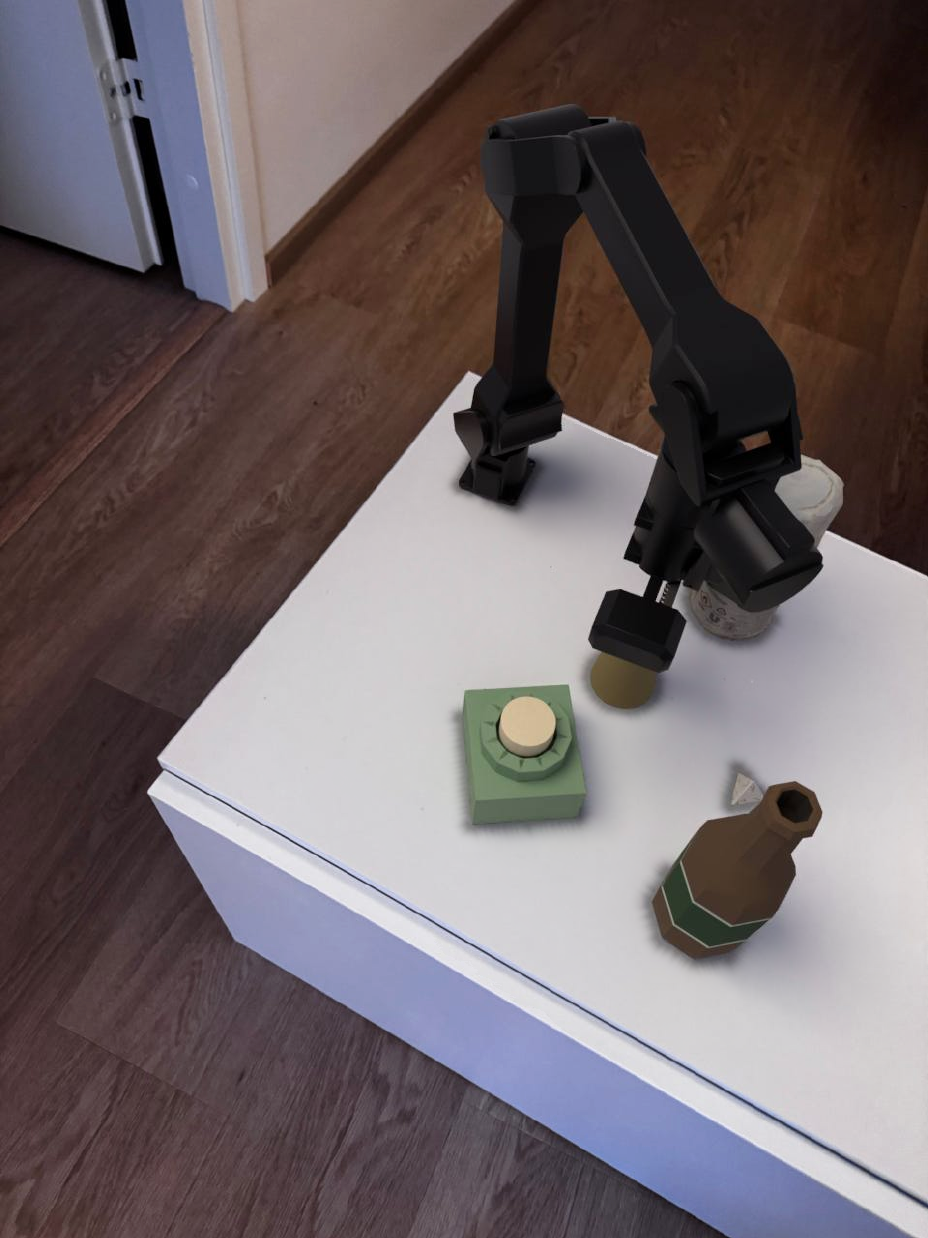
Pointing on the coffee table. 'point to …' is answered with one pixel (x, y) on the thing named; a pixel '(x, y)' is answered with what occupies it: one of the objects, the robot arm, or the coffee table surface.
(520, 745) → the beige push button
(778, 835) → the beer bottle
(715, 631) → the spray can
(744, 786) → the white speckled wedge
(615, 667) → the olive game pawn
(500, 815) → the green button housing
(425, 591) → the coffee table surface
